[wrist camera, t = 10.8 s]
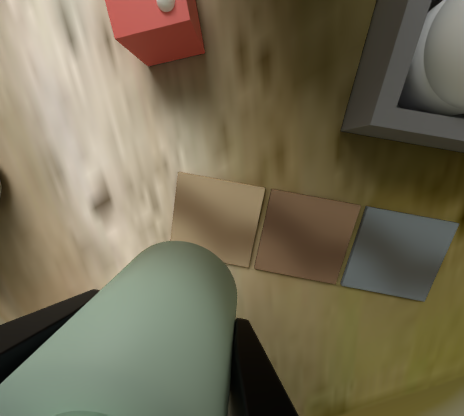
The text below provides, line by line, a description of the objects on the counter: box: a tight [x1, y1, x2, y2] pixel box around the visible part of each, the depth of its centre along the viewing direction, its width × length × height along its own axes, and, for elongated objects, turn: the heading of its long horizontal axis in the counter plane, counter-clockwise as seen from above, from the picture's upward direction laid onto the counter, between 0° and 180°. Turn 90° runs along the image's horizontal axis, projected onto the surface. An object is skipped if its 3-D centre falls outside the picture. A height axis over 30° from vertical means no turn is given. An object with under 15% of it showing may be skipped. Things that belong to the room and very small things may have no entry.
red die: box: [105, 0, 205, 66], centre depth 13 cm, size 4×4×4 cm
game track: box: [170, 172, 459, 302], centre depth 18 cm, size 6×20×1 cm, turn 80°
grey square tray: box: [341, 0, 464, 153], centre depth 13 cm, size 9×9×4 cm
